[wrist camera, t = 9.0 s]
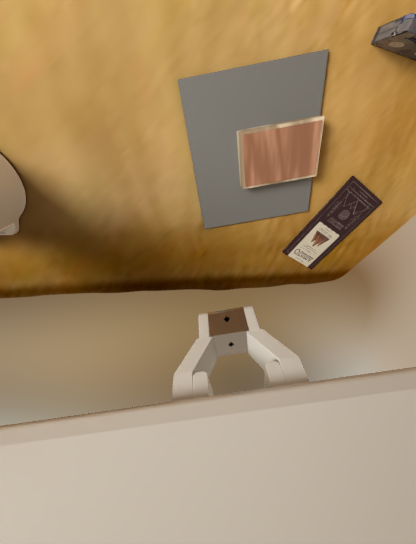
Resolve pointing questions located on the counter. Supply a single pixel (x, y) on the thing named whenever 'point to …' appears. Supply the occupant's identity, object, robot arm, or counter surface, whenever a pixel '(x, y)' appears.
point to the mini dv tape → (398, 36)
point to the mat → (244, 115)
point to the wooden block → (279, 151)
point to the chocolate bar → (333, 223)
